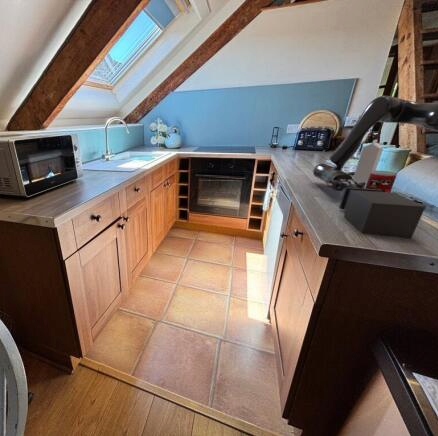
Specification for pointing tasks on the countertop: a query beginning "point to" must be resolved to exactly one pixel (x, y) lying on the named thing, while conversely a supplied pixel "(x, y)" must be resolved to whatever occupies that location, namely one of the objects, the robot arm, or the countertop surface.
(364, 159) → the milk
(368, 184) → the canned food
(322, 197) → the countertop surface
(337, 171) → the robot arm
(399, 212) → the dark grey box
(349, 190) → the black angled strip
